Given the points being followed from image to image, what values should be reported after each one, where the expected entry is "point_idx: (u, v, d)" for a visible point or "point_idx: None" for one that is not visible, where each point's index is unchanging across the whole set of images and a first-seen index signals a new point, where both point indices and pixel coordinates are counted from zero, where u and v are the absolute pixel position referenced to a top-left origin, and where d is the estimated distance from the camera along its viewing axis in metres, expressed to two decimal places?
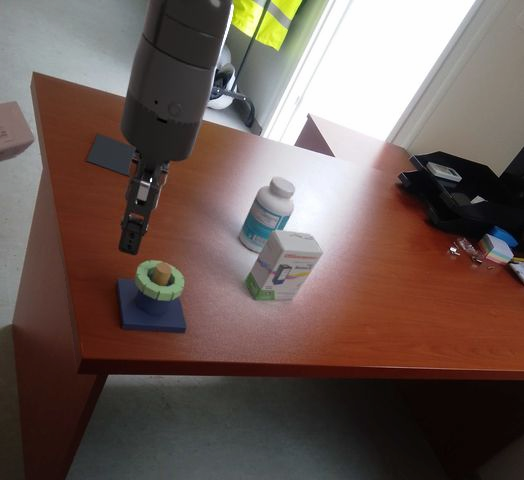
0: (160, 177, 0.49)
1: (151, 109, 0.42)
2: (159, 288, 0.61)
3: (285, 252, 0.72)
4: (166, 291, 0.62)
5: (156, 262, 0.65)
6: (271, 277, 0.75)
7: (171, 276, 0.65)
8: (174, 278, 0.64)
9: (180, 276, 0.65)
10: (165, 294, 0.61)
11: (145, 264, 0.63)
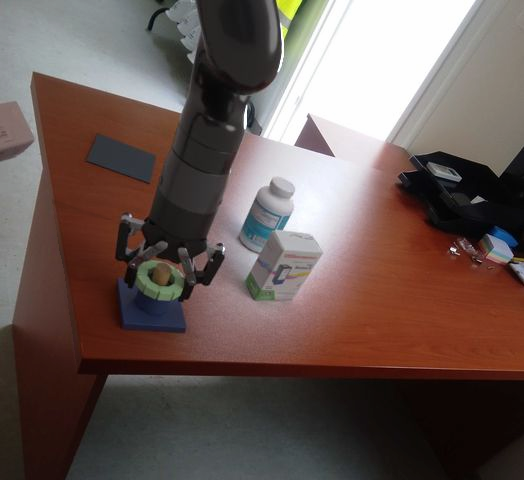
0: (157, 240, 0.57)
1: None
2: (159, 288, 0.61)
3: (285, 252, 0.72)
4: (166, 291, 0.62)
5: (156, 262, 0.65)
6: (271, 277, 0.75)
7: (171, 276, 0.65)
8: (174, 278, 0.64)
9: (180, 276, 0.65)
10: (165, 294, 0.61)
11: (145, 264, 0.63)
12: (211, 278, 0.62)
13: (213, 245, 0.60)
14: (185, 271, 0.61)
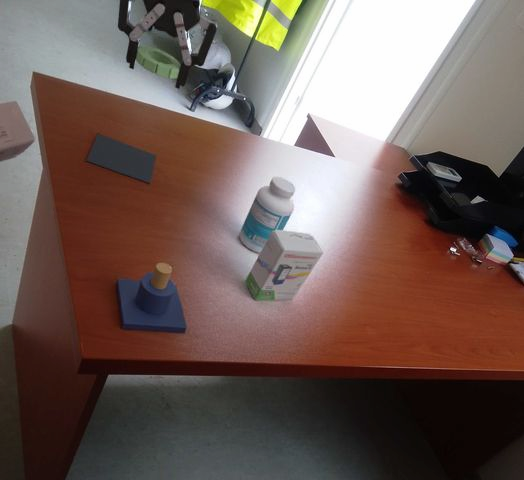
0: (155, 4, 0.64)
1: None
2: (157, 62, 0.68)
3: (285, 252, 0.72)
4: (164, 66, 0.68)
5: (155, 49, 0.71)
6: (271, 277, 0.75)
7: (169, 62, 0.71)
8: (171, 63, 0.71)
9: (177, 62, 0.71)
10: (163, 68, 0.68)
11: (145, 47, 0.70)
12: (204, 56, 0.69)
13: (206, 18, 0.66)
14: (181, 44, 0.67)
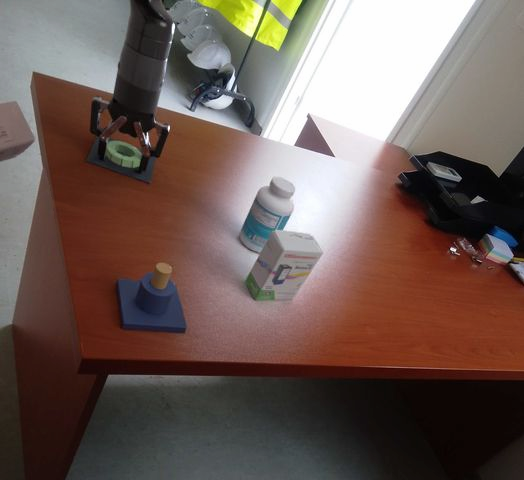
0: (119, 116, 0.81)
1: None
2: (122, 157, 0.85)
3: (285, 252, 0.72)
4: (127, 159, 0.85)
5: (121, 142, 0.89)
6: (271, 277, 0.75)
7: (132, 152, 0.89)
8: (134, 154, 0.88)
9: (139, 153, 0.89)
10: (127, 161, 0.85)
11: (113, 142, 0.87)
12: (160, 151, 0.86)
13: (160, 123, 0.84)
14: (140, 143, 0.84)
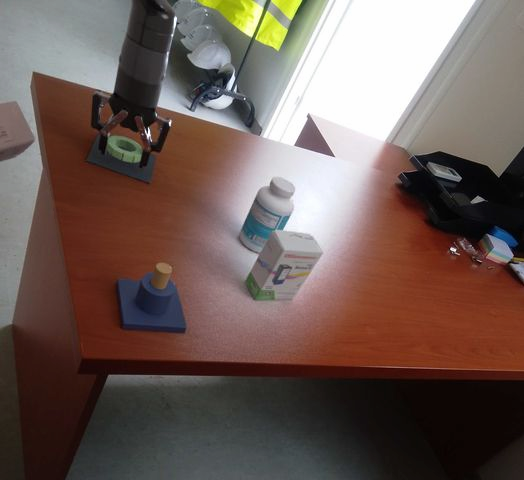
0: (120, 110, 0.80)
1: None
2: (123, 151, 0.84)
3: (285, 252, 0.72)
4: (128, 154, 0.85)
5: (122, 137, 0.88)
6: (271, 277, 0.75)
7: (133, 147, 0.88)
8: (135, 149, 0.87)
9: (140, 148, 0.88)
10: (128, 156, 0.85)
11: (114, 137, 0.87)
12: (161, 145, 0.86)
13: (162, 118, 0.83)
14: (142, 137, 0.84)
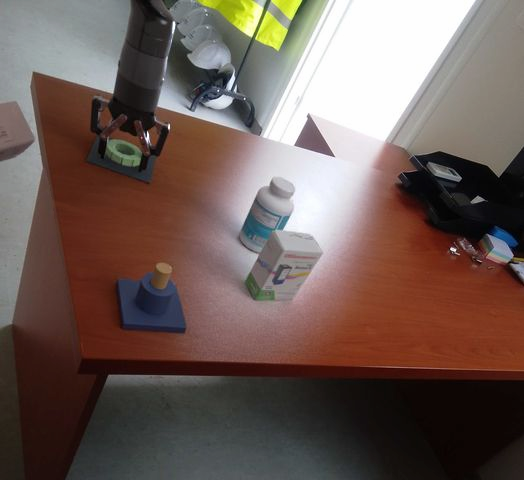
0: (119, 114, 0.81)
1: None
2: (122, 155, 0.85)
3: (285, 252, 0.72)
4: (128, 157, 0.85)
5: (122, 141, 0.88)
6: (271, 277, 0.75)
7: (133, 151, 0.88)
8: (135, 152, 0.88)
9: (139, 151, 0.89)
10: (127, 159, 0.85)
11: (113, 141, 0.87)
12: (160, 149, 0.86)
13: (160, 122, 0.84)
14: (141, 142, 0.84)
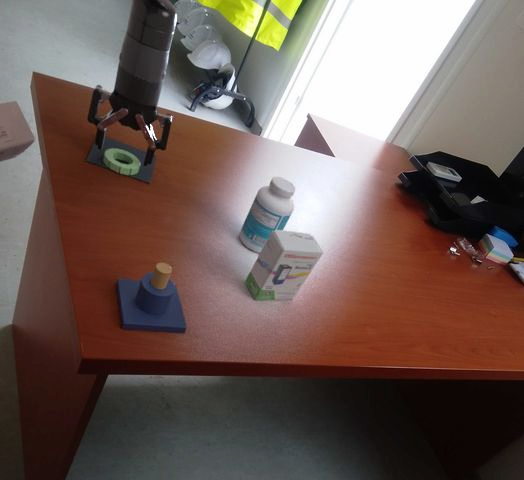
0: (120, 108, 0.80)
1: None
2: (120, 164, 0.86)
3: (285, 252, 0.72)
4: (125, 166, 0.86)
5: (120, 150, 0.90)
6: (271, 277, 0.75)
7: (130, 160, 0.90)
8: (132, 161, 0.89)
9: (137, 160, 0.90)
10: (125, 168, 0.86)
11: (111, 150, 0.88)
12: (165, 142, 0.85)
13: (162, 114, 0.83)
14: (145, 136, 0.84)
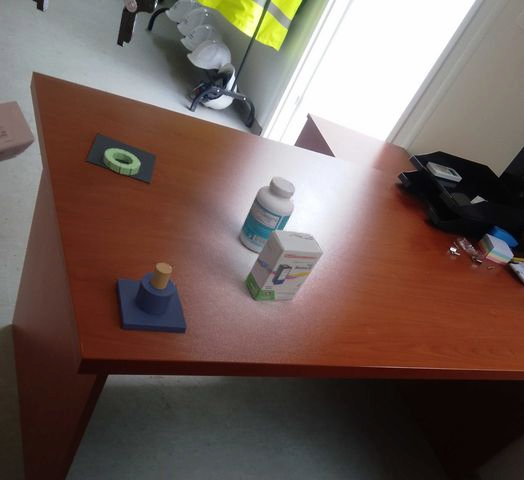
0: None
1: None
2: (120, 164, 0.86)
3: (285, 252, 0.72)
4: (125, 166, 0.86)
5: (120, 150, 0.90)
6: (271, 277, 0.75)
7: (130, 160, 0.90)
8: (132, 161, 0.89)
9: (137, 160, 0.90)
10: (125, 168, 0.86)
11: (111, 150, 0.88)
12: None
13: None
14: None
